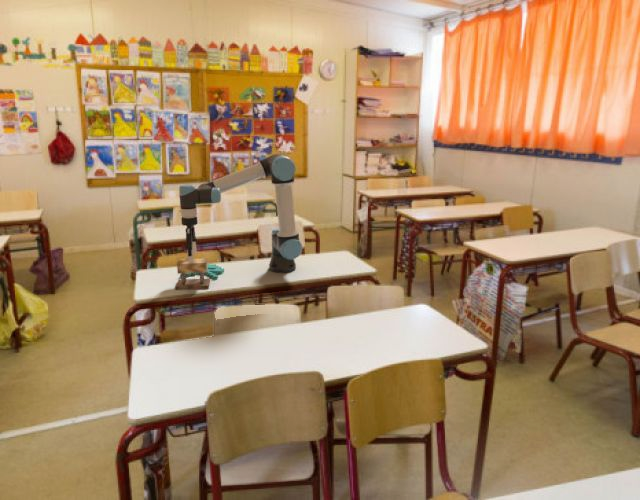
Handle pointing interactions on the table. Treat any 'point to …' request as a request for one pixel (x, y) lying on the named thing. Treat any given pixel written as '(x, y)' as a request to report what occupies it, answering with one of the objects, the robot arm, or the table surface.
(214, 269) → the alien figure
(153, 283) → the table surface
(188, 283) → the peg stand
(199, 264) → the light brown wooden block
